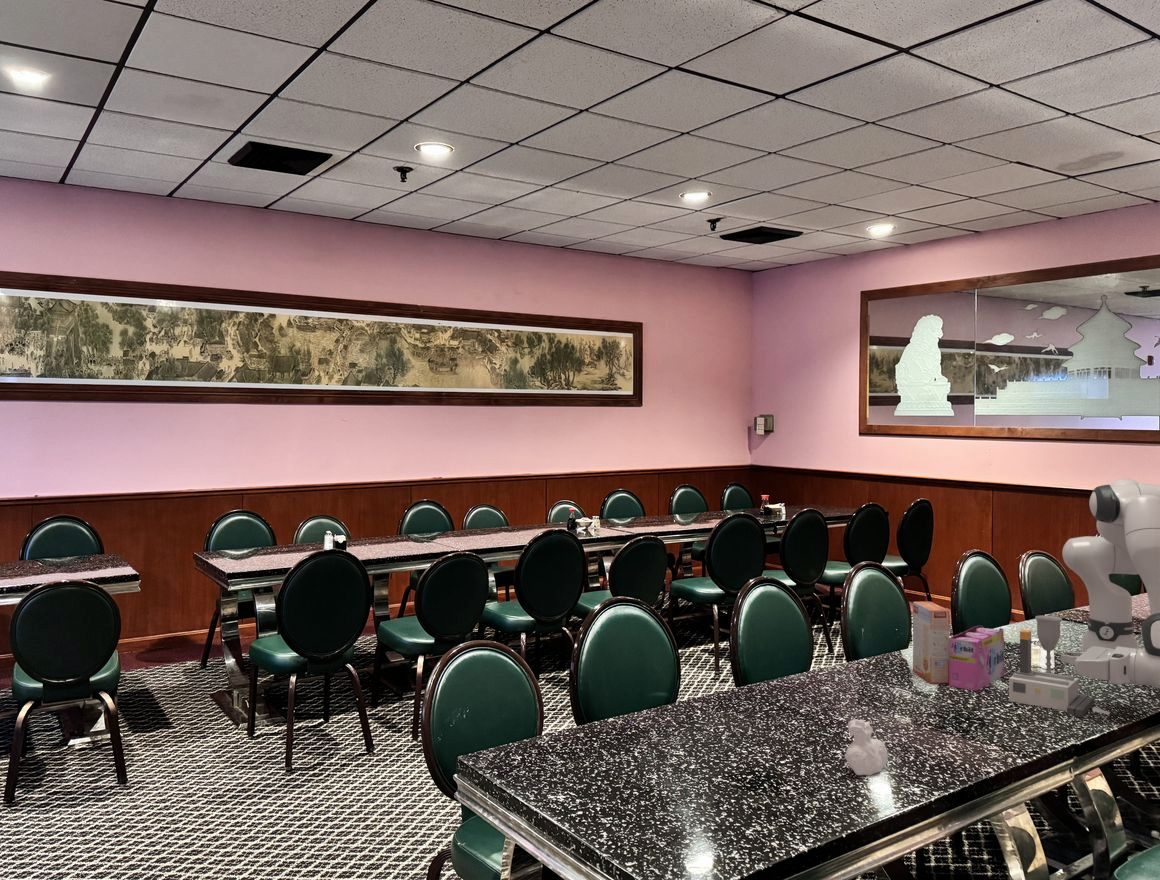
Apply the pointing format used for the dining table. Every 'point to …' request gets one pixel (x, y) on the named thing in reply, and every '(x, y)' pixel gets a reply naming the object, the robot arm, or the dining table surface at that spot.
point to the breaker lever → (1025, 653)
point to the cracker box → (931, 641)
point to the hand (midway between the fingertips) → (1062, 656)
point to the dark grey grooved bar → (1081, 705)
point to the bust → (865, 750)
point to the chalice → (1048, 635)
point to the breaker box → (1043, 690)
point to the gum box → (976, 658)
